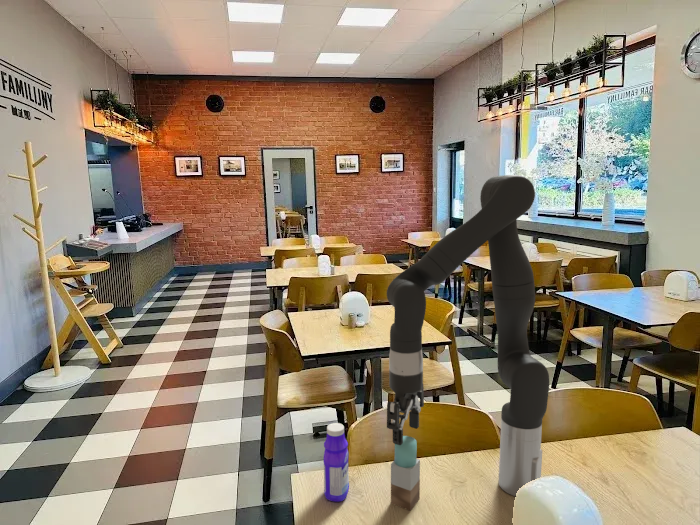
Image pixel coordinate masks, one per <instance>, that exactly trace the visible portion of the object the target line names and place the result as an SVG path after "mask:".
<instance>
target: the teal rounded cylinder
mask: <svg viewBox="0 0 700 525" xmlns="http://www.w3.org/2000/svg"><path fill="white" fill-rule="evenodd" d="M417 443H418V441H417V440H416V439H415V437H412V436H410V435H403V443H402V445H397V444H394V460H395V464H396V465H398V466H400V467H403V468H410V467H413V466H415V465H416V459H417V452H418V451H417V449H418V448H417V446H418V445H417Z"/></svg>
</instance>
